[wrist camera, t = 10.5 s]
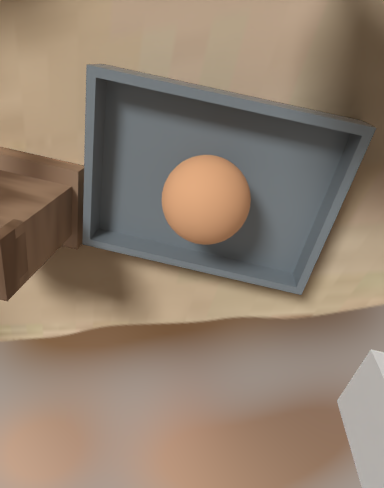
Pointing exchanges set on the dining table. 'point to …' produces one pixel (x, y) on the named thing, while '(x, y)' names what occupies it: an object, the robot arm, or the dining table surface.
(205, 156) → the ball
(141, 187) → the tray
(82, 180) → the stand
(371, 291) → the dining table surface
